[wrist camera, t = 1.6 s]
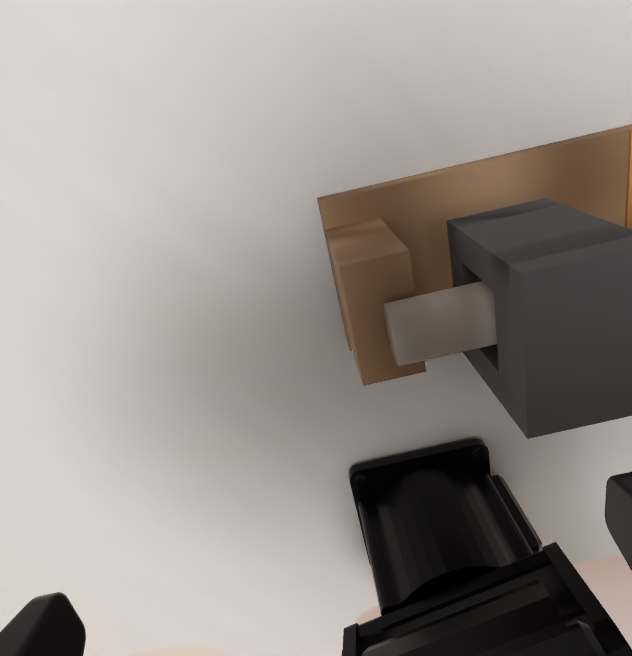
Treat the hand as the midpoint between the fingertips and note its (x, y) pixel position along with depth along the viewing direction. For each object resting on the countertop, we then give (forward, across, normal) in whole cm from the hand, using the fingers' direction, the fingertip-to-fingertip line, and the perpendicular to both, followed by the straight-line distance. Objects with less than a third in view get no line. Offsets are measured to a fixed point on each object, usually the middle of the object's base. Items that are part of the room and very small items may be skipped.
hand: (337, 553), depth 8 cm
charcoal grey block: (+9, -6, 0) cm, 11 cm away
